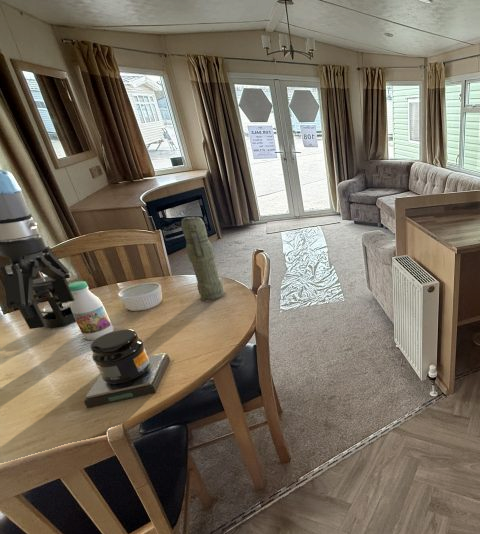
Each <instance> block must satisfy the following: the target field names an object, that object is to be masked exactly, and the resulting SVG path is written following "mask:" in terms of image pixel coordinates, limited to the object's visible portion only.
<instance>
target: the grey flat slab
mask: <svg viewBox="0 0 480 534" xmlns="http://www.w3.org/2000/svg"><path fill="white" fill-rule="evenodd" d="M165 355H166V353H165V352H163V353H157V354H153V355H147V356H148V359H149V360H150V367H149V368H148V370H147V371H146V372H145V373H144V374H142V375H141V376H139V377H137V378H135V379H133V380H131V381H128V382H125V383H120V384H109V383H106V382H105V381H104V380H103V378H102V375H101V374H100V375H99V376H98V378H97V379H96V381H95V382H94V384H93V385H92V387H91V388H90V390H88V392H87V393H86V396H85V398H87V399H88V398H93V397H97V396H102V395H107V394H111V393H116V392H120V391H125V390H130V389H134V388H139V387H144V386H148V385H151V384H152V382H153V380H154V378H155V376H156V374H157V372H158V370H159V367H160V365H161V363H162V361H163V359H164V357H165Z"/></svg>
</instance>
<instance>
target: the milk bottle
mask: <svg viewBox="0 0 480 534" xmlns="http://www.w3.org/2000/svg"><path fill="white" fill-rule="evenodd" d="M68 286H69V288H70V290H71V293H72V295H73V297H74V299H75V300H74V301H71V311H72V313H73V316H74V318H75V320H76V322H75V323H76V324H77V326H78V328H79V330H80V332H81V334H82V336H83V338H84V339H85V340H88V341H94V340H95V339H97V338H99V337H100V336H102V335H105V334H107V333H110V332H113V331H114V326H113V324H112V322H111V319H110V316H109V315H108V313H107V311H106V308H105V306H104V305H103V304H104V303H103V302H102V301H101V299H100V298H99V297H98V296H96V295H95V294H94V293H92V291H90V289H89V285H88V283H87V281H84V280H83V281H75V282H72V283H69V284H68Z"/></svg>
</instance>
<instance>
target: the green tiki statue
mask: <svg viewBox="0 0 480 534" xmlns="http://www.w3.org/2000/svg"><path fill="white" fill-rule="evenodd" d="M181 229H182V233H183V236H184V239H185V240H186V241H185V244H186V246H185V249H186V253H187V257H188V261H189V262H190V263H191V264H192V268H193V272H194V275H195V279H196V282H197V284H196V288H197V291H198V294H199V295H200V300H202V301H207V302H208V301H215V300H218V299H220V298H223V296H225V292H224V291H225V290H224V286H223V282H222V280H221V279H220V276H219V272H218V269H217V265H216V260H215V256H216V255H215V252H214V247H213V244H212V243H211V241H210V239H209V237H208V231H207V228H206V224H205V222H204V220H203V219H202V218H201V216H198V215H191V216H186V217H183V218H182V219H181Z"/></svg>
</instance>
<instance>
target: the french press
mask: <svg viewBox="0 0 480 534" xmlns="http://www.w3.org/2000/svg"><path fill="white" fill-rule="evenodd" d="M38 273H39V275H40V277H37V278H34V279H33V290H32V292H36V293H33V294H32V301H33V303H35V304H36V306H37V308H38V309H39V311H40V313H41V315H42V317H43V319H44V321H45V323H46V326H45V327H46V328H48V329H56V328H62V327H66V326H69V325H72V324H74V323H77V322H76V320H75V318H74V316H73V313H72V311H71V301H70V302H62V303H60V300H59V298H58V296H57V294H56V292H55V290H54V288H53V285H52V283H51V281H53V279H51V278H50V277H48V276H46V275H45V276H43V273H41V272H40V271H39V272H38ZM46 294H49V297H41V298H38V297H40V296H42V295H46ZM45 302H48V304H47V305H44V306H43V307H41V308H40V306H39V304H38V303H45Z"/></svg>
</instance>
